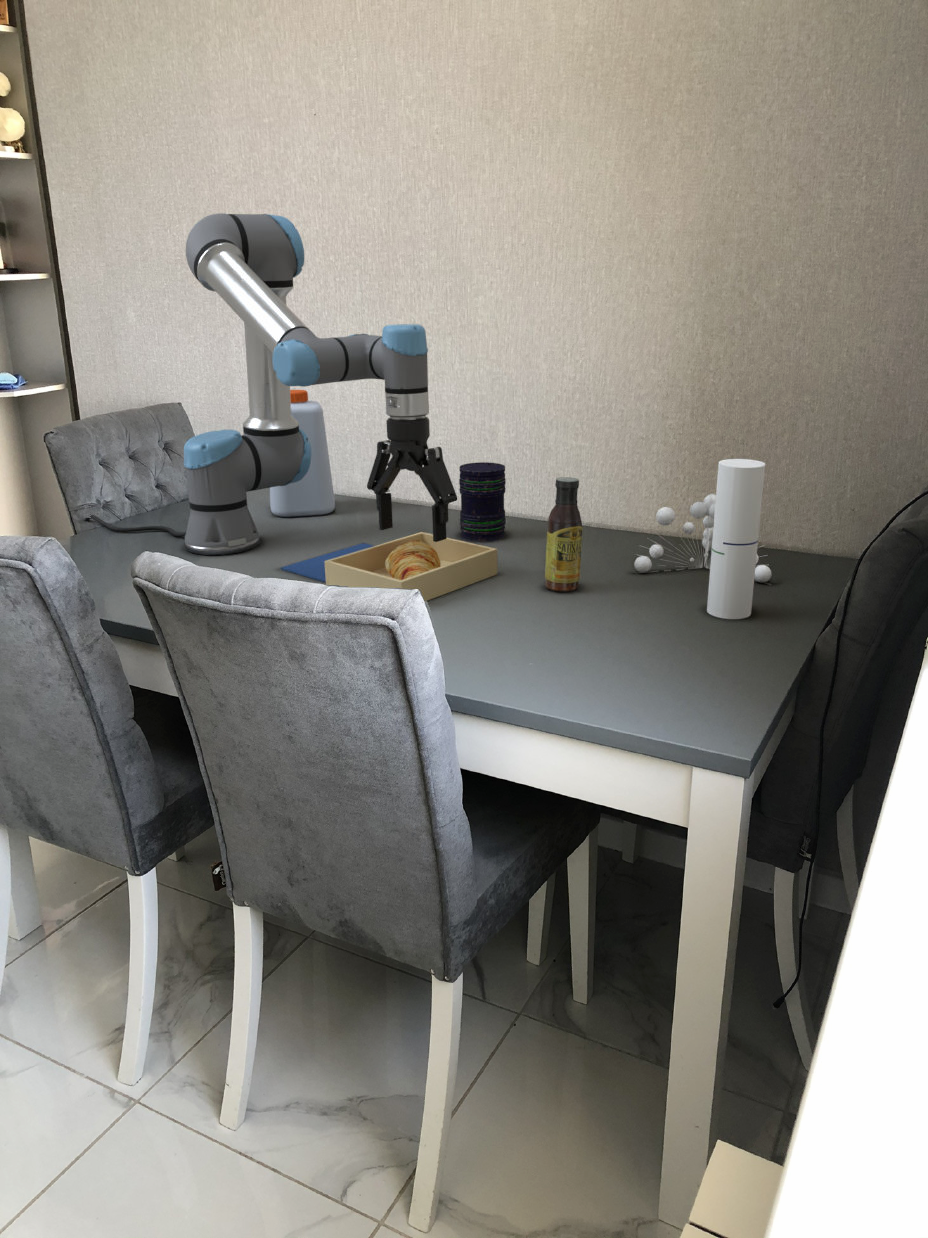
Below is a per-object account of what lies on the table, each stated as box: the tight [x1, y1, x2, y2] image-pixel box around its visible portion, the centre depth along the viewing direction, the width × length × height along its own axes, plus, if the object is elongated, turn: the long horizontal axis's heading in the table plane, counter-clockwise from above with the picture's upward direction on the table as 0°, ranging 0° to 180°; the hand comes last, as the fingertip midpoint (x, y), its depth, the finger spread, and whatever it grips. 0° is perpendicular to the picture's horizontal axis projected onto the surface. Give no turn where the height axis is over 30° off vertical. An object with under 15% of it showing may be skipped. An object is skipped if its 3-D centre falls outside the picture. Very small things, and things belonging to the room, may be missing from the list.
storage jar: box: [458, 461, 507, 543], centre depth 206 cm, size 10×10×15 cm
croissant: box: [385, 540, 441, 580], centre depth 179 cm, size 21×10×8 cm, turn 9°
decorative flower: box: [633, 493, 772, 585], centre depth 182 cm, size 25×22×14 cm
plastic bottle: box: [269, 389, 336, 518], centre depth 228 cm, size 15×15×28 cm
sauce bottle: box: [544, 476, 584, 592], centre depth 171 cm, size 6×6×20 cm
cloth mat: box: [280, 542, 375, 583], centre depth 191 cm, size 14×22×1 cm, turn 139°
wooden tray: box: [325, 531, 498, 602], centre depth 179 cm, size 20×26×5 cm
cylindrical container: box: [706, 458, 766, 620], centre depth 157 cm, size 7×7×25 cm
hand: (412, 534), depth 176 cm, fingers open, 13 cm apart
